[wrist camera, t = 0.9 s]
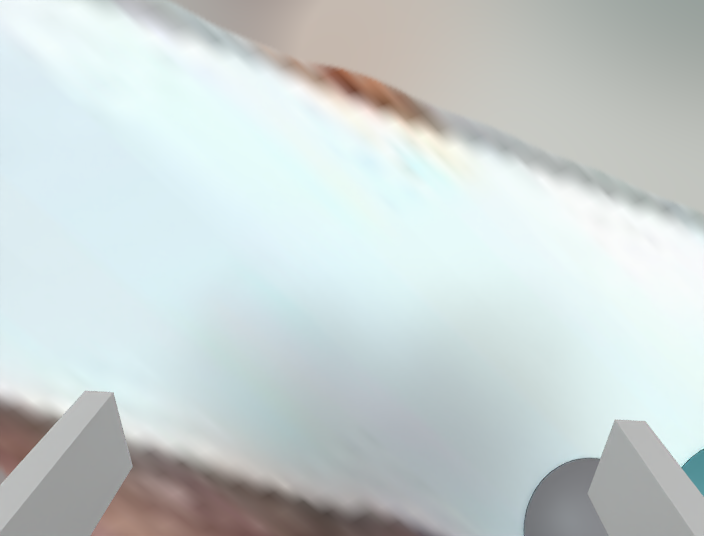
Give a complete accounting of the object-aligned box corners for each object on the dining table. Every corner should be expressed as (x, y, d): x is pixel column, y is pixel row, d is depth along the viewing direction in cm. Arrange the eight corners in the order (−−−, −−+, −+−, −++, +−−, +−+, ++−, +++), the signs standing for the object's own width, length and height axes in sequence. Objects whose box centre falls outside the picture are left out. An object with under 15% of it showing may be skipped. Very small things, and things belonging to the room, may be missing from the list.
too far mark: (656, 603, 31) (658, 604, 31) (523, 605, 30) (524, 607, 30) (653, 459, 32) (655, 460, 32) (524, 457, 31) (525, 458, 31)
